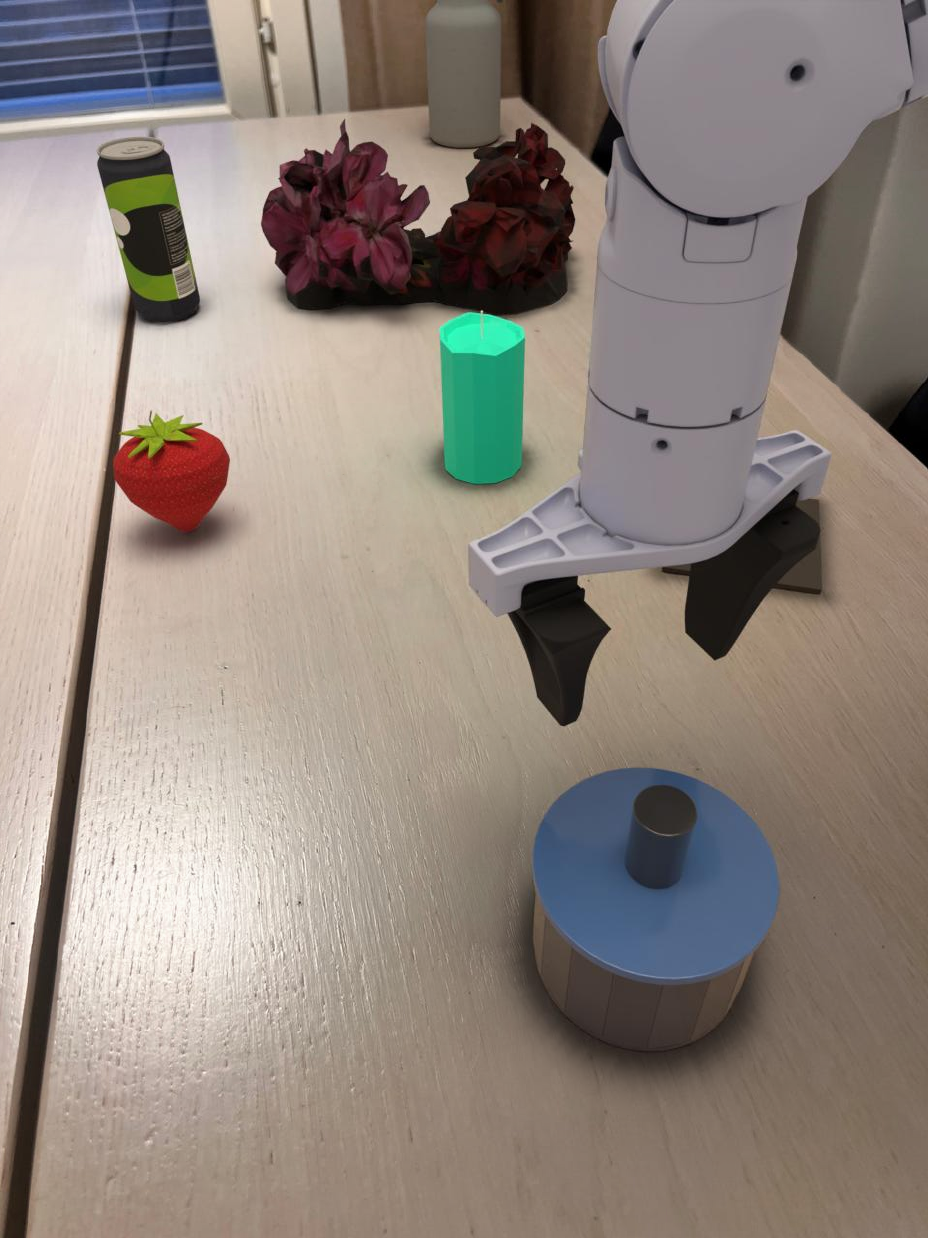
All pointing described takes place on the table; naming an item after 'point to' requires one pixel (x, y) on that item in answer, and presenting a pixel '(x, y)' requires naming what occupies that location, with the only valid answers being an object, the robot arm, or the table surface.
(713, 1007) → the pot
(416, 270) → the flower arrangement
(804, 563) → the mat
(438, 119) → the water bottle
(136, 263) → the beverage can
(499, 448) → the candle
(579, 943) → the lid
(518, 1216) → the table surface
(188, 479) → the strawberry
